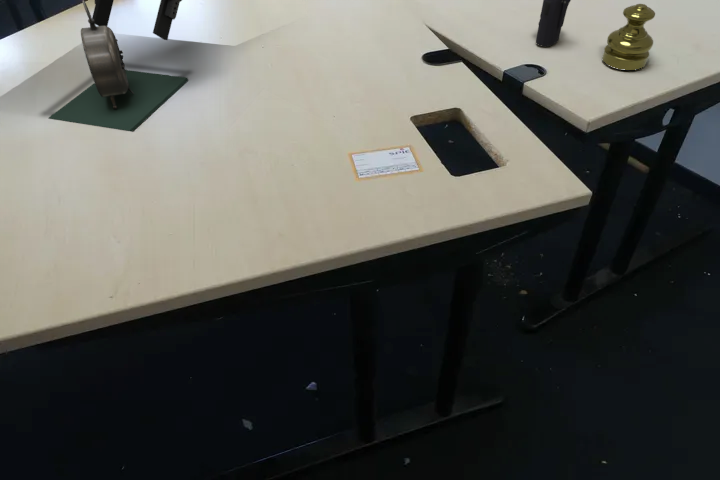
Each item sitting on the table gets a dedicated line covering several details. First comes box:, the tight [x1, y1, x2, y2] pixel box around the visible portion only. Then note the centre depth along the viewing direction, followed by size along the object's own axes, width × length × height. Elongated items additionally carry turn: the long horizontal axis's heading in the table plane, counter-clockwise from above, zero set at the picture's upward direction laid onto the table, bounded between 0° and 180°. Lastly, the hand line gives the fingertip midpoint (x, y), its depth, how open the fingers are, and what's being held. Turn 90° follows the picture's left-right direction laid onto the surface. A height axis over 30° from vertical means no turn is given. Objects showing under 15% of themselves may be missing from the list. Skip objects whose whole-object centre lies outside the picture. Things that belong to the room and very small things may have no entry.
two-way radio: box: [535, 0, 572, 47], centre depth 97 cm, size 6×4×15 cm
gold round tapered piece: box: [601, 3, 656, 71], centre depth 92 cm, size 7×7×10 cm
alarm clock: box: [80, 0, 134, 109], centre depth 87 cm, size 11×5×16 cm, turn 21°
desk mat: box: [48, 69, 189, 133], centre depth 93 cm, size 16×18×1 cm
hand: (128, 31), depth 91 cm, fingers open, 13 cm apart
